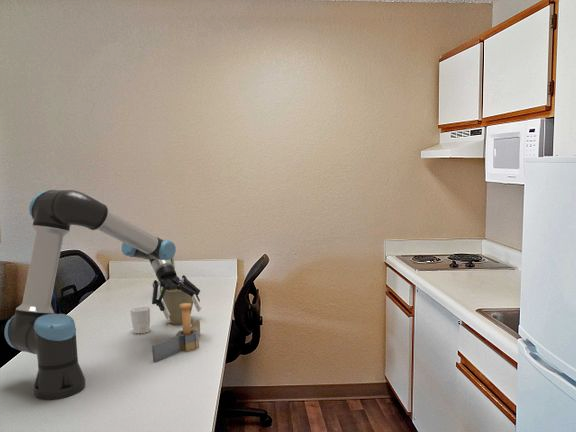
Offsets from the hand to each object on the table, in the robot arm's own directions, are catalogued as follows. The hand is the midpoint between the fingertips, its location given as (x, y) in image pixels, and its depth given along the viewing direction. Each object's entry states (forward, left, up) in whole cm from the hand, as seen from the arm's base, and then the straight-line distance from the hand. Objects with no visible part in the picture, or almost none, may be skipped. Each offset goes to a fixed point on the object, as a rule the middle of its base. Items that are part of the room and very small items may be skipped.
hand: (184, 313), depth 208 cm
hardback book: (-34, +84, -13) cm, 92 cm away
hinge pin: (+1, -3, -13) cm, 13 cm away
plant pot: (-12, +31, -13) cm, 36 cm away
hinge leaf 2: (+1, +4, -13) cm, 13 cm away
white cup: (-25, +18, -13) cm, 33 cm away
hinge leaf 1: (-2, -8, -13) cm, 15 cm away
